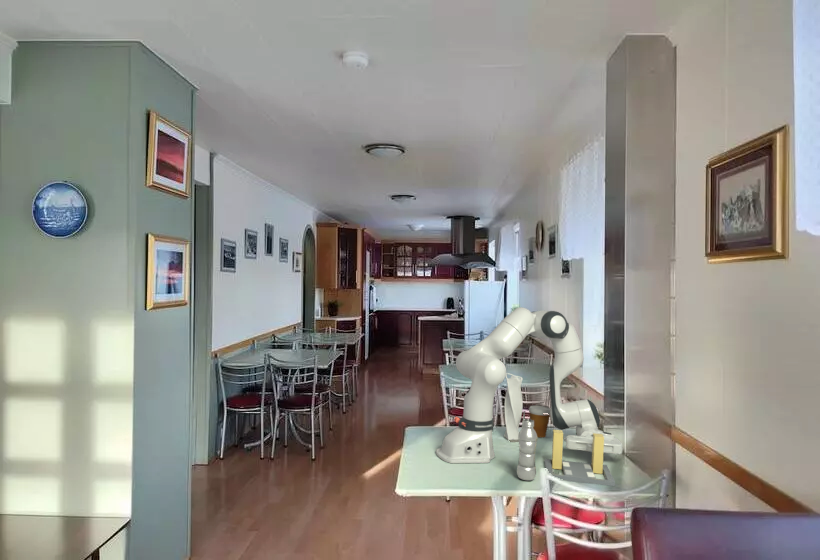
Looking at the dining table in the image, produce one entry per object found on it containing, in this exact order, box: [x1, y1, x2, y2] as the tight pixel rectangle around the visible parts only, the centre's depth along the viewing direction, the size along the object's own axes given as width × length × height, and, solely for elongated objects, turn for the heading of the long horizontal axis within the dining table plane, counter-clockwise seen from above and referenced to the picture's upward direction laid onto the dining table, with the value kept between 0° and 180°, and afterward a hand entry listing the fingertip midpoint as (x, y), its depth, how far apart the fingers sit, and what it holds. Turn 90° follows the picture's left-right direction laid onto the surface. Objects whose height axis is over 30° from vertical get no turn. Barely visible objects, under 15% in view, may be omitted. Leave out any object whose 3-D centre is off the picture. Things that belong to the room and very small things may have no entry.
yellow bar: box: [591, 433, 604, 475], centre depth 191 cm, size 4×3×13 cm
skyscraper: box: [503, 372, 526, 443], centre depth 225 cm, size 8×8×28 cm
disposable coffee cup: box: [528, 405, 551, 438], centre depth 231 cm, size 10×10×12 cm
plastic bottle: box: [516, 418, 538, 481], centre depth 181 cm, size 6×7×20 cm
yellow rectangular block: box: [551, 429, 564, 470], centre depth 193 cm, size 4×3×13 cm
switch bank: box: [544, 458, 616, 487], centre depth 188 cm, size 16×22×2 cm
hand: (596, 451), depth 193 cm, fingers closed
